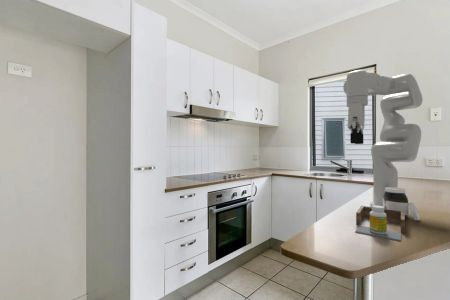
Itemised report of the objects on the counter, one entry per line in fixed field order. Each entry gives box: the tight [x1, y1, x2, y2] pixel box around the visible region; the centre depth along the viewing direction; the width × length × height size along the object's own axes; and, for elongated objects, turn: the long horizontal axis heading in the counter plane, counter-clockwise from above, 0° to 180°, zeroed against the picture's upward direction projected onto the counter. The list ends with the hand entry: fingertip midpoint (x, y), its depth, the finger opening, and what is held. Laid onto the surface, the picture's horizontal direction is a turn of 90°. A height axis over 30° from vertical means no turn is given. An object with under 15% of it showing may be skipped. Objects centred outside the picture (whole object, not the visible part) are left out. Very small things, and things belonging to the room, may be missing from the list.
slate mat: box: [355, 224, 402, 242], centre depth 74 cm, size 8×12×1 cm, turn 52°
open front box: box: [355, 205, 406, 234], centre depth 83 cm, size 13×14×4 cm
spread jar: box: [383, 187, 420, 222], centre depth 92 cm, size 12×11×12 cm
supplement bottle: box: [369, 205, 388, 234], centre depth 74 cm, size 5×5×8 cm
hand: (357, 143), depth 91 cm, fingers open, 9 cm apart
